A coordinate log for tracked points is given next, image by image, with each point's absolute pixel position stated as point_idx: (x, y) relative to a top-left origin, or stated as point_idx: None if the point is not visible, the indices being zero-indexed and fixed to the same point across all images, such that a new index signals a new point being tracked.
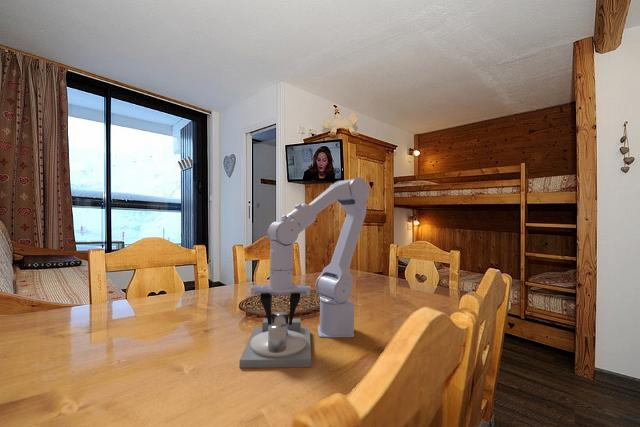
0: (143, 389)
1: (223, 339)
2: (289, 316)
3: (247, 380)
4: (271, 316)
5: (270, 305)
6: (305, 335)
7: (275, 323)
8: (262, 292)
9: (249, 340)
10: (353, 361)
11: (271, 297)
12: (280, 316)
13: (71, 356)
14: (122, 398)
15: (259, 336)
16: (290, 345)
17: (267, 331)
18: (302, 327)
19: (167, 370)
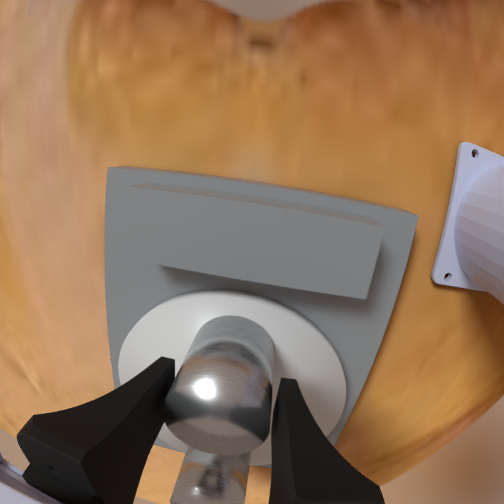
0: (16, 408)
1: (31, 218)
2: (276, 425)
3: (163, 457)
4: (162, 385)
5: (134, 474)
6: (364, 330)
7: (195, 497)
8: (41, 501)
9: (111, 329)
10: (435, 432)
11: (107, 465)
12: (216, 452)
13: None
14: (11, 416)
15: (142, 351)
16: (269, 441)
17: (170, 306)
18: (379, 219)
19: (6, 367)
